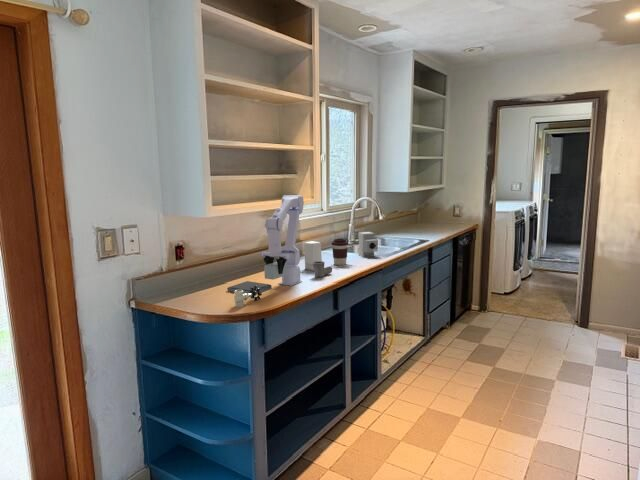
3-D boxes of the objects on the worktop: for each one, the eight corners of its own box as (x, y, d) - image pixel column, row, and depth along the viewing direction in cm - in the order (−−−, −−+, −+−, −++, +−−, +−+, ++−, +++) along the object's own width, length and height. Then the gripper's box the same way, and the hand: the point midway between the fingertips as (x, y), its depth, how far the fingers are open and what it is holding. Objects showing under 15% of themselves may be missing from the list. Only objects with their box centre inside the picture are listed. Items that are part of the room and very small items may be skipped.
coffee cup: (329, 265, 260) (329, 240, 258) (334, 262, 270) (334, 237, 267) (345, 266, 257) (345, 240, 255) (350, 263, 266) (350, 238, 264)
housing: (278, 273, 208) (277, 260, 207) (286, 275, 206) (286, 261, 205) (264, 278, 200) (264, 264, 199) (273, 279, 197) (273, 265, 196)
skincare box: (322, 269, 250) (321, 242, 247) (313, 271, 246) (312, 243, 243) (313, 267, 256) (312, 240, 254) (304, 268, 252) (303, 241, 250)
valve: (241, 308, 180) (262, 301, 189) (240, 293, 179) (261, 286, 188) (230, 306, 184) (251, 299, 193) (229, 290, 183) (250, 284, 192)
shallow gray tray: (247, 284, 218) (247, 280, 218) (271, 288, 210) (271, 284, 210) (227, 291, 206) (227, 287, 206) (252, 295, 199) (252, 291, 198)
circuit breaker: (368, 258, 278) (368, 235, 276) (358, 255, 292) (358, 232, 289) (378, 257, 281) (379, 234, 279) (368, 254, 294) (368, 231, 292)
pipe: (334, 274, 237) (334, 260, 235) (317, 279, 227) (317, 263, 226) (325, 273, 241) (325, 258, 240) (309, 277, 232) (309, 262, 230)
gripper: (256, 243, 201) (257, 273, 203) (282, 246, 193) (283, 276, 196) (266, 241, 207) (267, 270, 209) (291, 243, 199) (292, 273, 201)
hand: (275, 273), depth 203 cm, fingers closed on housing, 5 cm apart
